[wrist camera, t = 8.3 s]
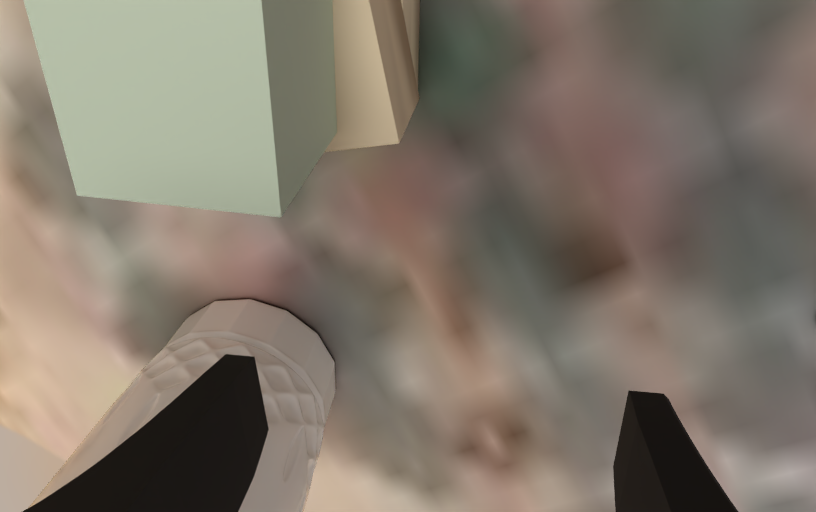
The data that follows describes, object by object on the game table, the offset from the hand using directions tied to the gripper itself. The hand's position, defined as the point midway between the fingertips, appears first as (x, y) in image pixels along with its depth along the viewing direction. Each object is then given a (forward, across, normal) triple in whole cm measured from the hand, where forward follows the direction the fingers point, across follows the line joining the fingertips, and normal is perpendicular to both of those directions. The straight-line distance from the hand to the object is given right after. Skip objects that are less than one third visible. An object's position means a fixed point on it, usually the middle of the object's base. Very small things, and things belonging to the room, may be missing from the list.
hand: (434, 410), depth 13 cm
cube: (+5, +5, -6) cm, 9 cm away
